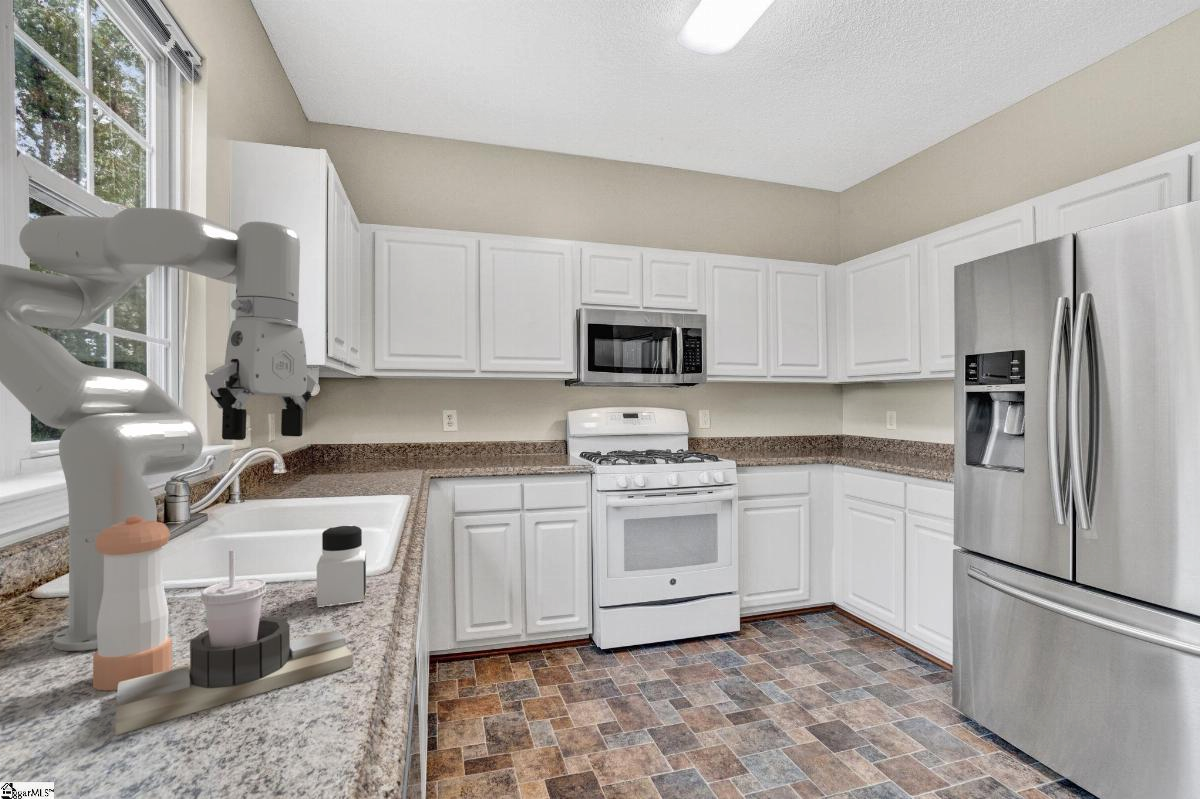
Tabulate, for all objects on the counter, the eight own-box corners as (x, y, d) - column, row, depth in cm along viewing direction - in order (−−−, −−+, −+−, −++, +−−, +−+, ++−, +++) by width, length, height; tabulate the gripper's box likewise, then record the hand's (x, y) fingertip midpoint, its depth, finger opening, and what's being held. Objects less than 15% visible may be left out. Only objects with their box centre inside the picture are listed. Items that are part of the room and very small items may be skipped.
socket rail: (115, 735, 54) (115, 678, 54) (118, 695, 62) (118, 646, 62) (352, 666, 68) (352, 621, 68) (331, 640, 76) (331, 600, 76)
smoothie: (188, 686, 61) (188, 558, 61) (218, 660, 67) (217, 544, 67) (252, 680, 62) (252, 554, 62) (275, 655, 68) (275, 541, 68)
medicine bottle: (365, 602, 91) (364, 529, 91) (316, 608, 89) (316, 533, 89) (366, 589, 98) (365, 521, 98) (321, 595, 95) (320, 525, 95)
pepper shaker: (163, 656, 72) (163, 508, 72) (179, 673, 67) (179, 514, 67) (87, 678, 66) (87, 517, 66) (99, 697, 61) (99, 524, 62)
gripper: (235, 302, 68) (231, 442, 68) (334, 323, 85) (331, 435, 84) (186, 304, 70) (182, 440, 69) (292, 324, 86) (290, 434, 86)
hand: (264, 437), depth 77 cm, fingers open, 9 cm apart
